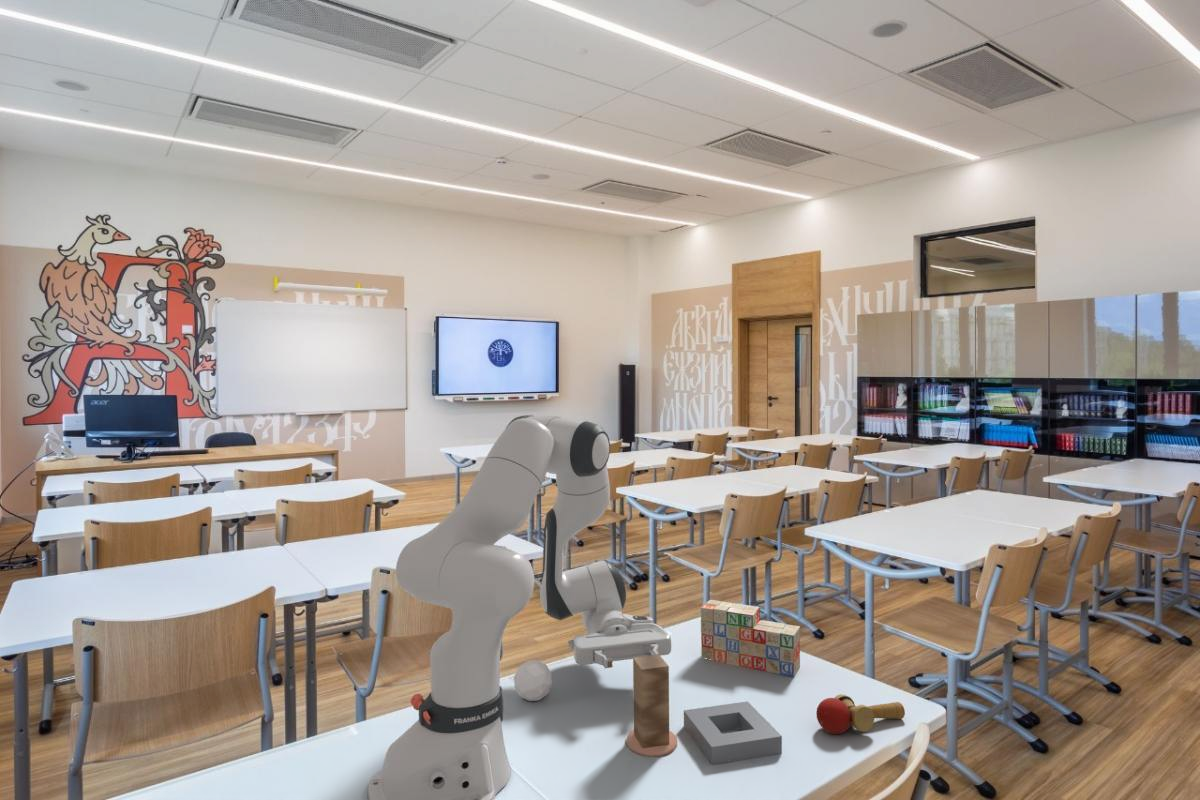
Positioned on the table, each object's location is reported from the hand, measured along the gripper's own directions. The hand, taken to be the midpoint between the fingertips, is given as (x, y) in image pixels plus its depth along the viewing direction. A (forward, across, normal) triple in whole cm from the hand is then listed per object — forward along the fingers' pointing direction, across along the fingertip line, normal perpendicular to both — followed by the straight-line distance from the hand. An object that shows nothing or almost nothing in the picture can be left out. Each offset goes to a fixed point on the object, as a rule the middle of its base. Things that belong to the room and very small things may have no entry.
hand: (632, 661), depth 133 cm
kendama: (+16, +39, +10) cm, 44 cm away
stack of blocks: (-14, +32, +10) cm, 37 cm away
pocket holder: (+14, +14, +10) cm, 22 cm away
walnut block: (+12, 0, +9) cm, 15 cm away
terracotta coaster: (+12, 0, +10) cm, 15 cm away
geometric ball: (-10, -18, +10) cm, 23 cm away
